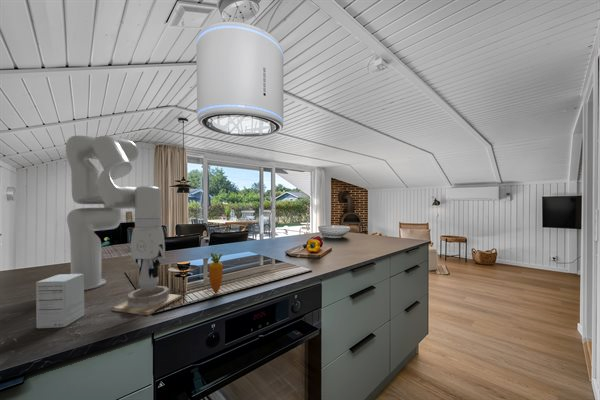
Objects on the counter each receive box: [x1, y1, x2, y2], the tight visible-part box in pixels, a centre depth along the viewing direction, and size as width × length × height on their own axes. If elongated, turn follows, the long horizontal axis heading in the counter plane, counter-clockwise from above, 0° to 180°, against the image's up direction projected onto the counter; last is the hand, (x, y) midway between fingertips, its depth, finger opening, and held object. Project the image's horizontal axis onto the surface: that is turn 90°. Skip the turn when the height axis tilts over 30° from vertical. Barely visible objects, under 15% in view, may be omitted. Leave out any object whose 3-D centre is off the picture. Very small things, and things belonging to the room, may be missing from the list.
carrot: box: [208, 252, 224, 294], centre depth 93 cm, size 5×5×15 cm
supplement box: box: [35, 273, 85, 329], centre depth 72 cm, size 7×7×13 cm
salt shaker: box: [138, 259, 160, 291], centre depth 84 cm, size 6×6×13 cm
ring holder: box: [111, 285, 183, 316], centre depth 84 cm, size 14×14×4 cm
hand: (148, 278), depth 84 cm, fingers closed on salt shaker, 3 cm apart
